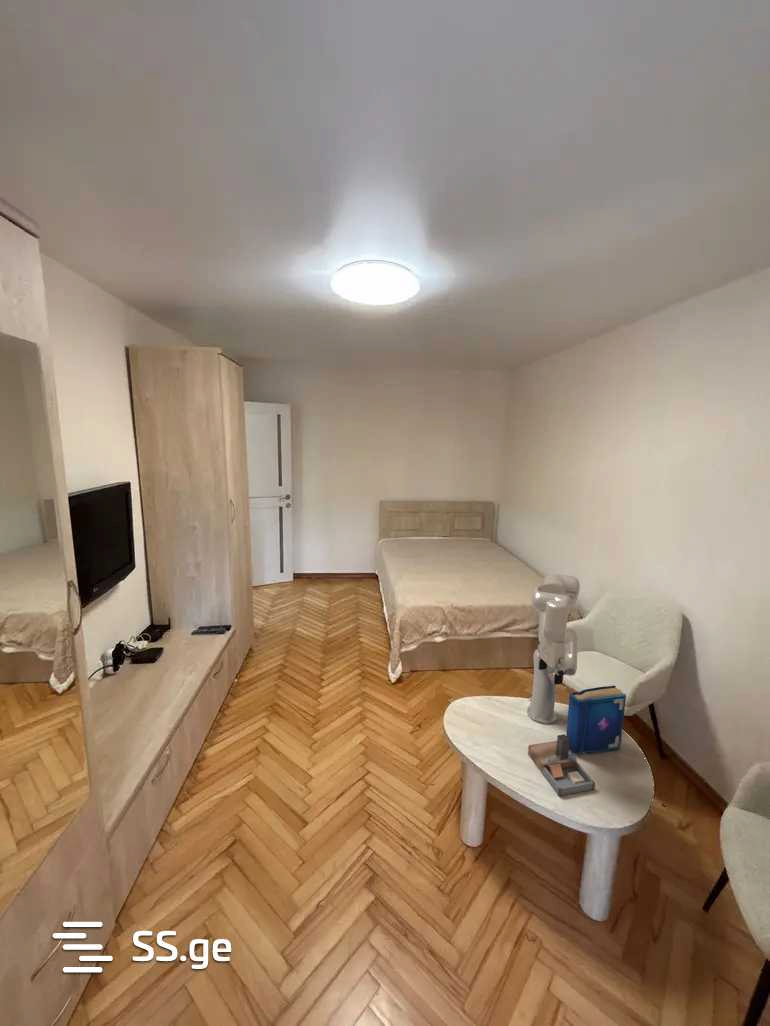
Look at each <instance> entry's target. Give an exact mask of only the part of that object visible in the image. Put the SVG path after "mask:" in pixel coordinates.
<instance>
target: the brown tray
mask: <svg viewBox="0 0 770 1026" xmlns="http://www.w3.org/2000/svg"><path fill="white" fill-rule="evenodd" d="M556 745H557V740H555V741H554V740H553V741H548V742H547V741H545V742H540V743H534V744H528V746H527V747H528V748H527V755H528V757H529V758H530V760H531V761H532V762H533V764H534V765H535V766H536V767H537V769H538V770H539V772H540V773H541V774H542V775H543V767H546V769H547V770H548V771H549V772H550V770H549V766H547V764H546V758H549V757H555V756H556ZM568 754H573V753H572V752H571V751H570V750H569V752H568ZM577 759H578V758H577ZM577 759H576V761H577ZM574 763H575V761H572V762H566V763H560V765H561V769H568V768H573V767H574Z"/></svg>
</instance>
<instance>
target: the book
mask: <svg viewBox="0 0 770 1026" xmlns="http://www.w3.org/2000/svg"><path fill="white" fill-rule="evenodd" d="M568 698H569V699H568V709H567V711H568V712H567V720H566V721H567V722H566V724H567V725H566V734H565V735H566V736H567V737H568V738H569V740H570V744H569V751H570V752H571V753H572V754H573V753H575V754H576V755H581V754H589V755H591V754H597V753H599V754H601V753H606V752H611V751H616V750H620V749H621V744H622V735H623V727H624V726H623V725H624V718H625V708H626V702H627V701H626V699H627V694H626V693H623V691H622V690H621V689H620V688H617V686H616V685H608V686H607V685H606V686H598V687H592V688H586V689H582V690H581V691H579V692H577V691H574V692H571V693H569V696H568Z"/></svg>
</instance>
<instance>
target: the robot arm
mask: <svg viewBox="0 0 770 1026" xmlns="http://www.w3.org/2000/svg"><path fill="white" fill-rule="evenodd" d="M542 583H543V584H539V585H537V586H535V587H534V589H533V592H532V595H531V605H532V608H533V609H534V610H535V611H537V612H538V614H539V619H538V620H539V622H538V642H539V644H537V649H535V650H534V652H533V682H532V694H531V696H530V697H528V700H529V702H530V704H529V706H527V709H526V714H527V716H529V718H530V719H532V720H533V721H534V722H537V723H539V724H543V725H545V724H546V725H551V724H554V723H555V722H557V720H558V715H557V714H558V713H556V711H555V705H556V704H555V703H556V695H557V694H556V692H557V685H562V684H563V683H564V682H563V681H564V676H575V675H576V674H577V672H578V671H577V670H578V635H577V632H576V631H575V629H573V628H572V627H567V624H568V617H569V616H568V615H569V614H570V612H572V609H573V607H574V606H575V605H576V603H577V600H578V596H579V595H580V590H581V588H580V586H581V585H580V581H579V579H578V578H577V577H576V576H574V575H566V574H559V573H550V574H548V575H545V577H544V578H543V581H542Z"/></svg>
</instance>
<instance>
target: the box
mask: <svg viewBox="0 0 770 1026" xmlns="http://www.w3.org/2000/svg"><path fill="white" fill-rule="evenodd" d="M576 771H577V772H578V773H579V774H580V775H581V776H582V777H583V779H584V780H585V781H584V783H579V784H573V783H572V782H571V781H570V779H569V778H568V777H567V775H568V773H570V772H576ZM562 772H563V777H557V778H553V776H552V775H551V773H550V772H549V771H548V770H547V769H546V767H543V774H542V775H543V777H544V778H545V780H546V781H547V782H548V784H549V785H550V787H552V789H553V791H554V792H555V794H556V795H557V796H558V797H565V796H569V795H575V794H580V793H587V792H590V791H595V786H596V785H595V784H596V782H595V780H593V778H592V777H591V776H590V775H589V774H588V773H587V771H585V769H584V768H583V767H582V766H581V765H580V763H578V762H577V761H575V763H574V767H573V768H568V769H562Z"/></svg>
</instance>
